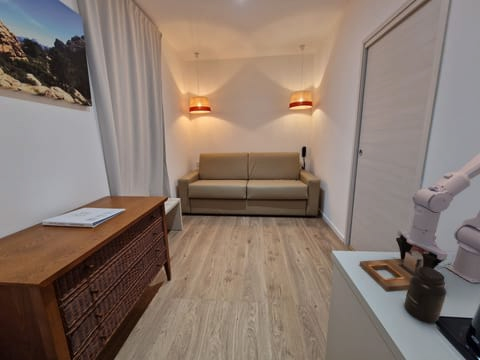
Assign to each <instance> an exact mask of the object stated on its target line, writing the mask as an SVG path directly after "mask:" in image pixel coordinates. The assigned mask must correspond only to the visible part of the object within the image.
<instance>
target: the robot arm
mask: <svg viewBox="0 0 480 360" xmlns="http://www.w3.org/2000/svg"><path fill="white" fill-rule="evenodd" d="M479 175H480V152H479V153H478V154H476V155H475V156H474V157H473V158H472V159H471V160H469V161H468V162H467V163H466V164H465V165H463V167H461V168H460V169H459V170H457V171H450V172H447V173H445V174H443V176H442V177H440V179H438V180H437V181H435V182H434V183H433V184H431V185H430V186H429V187H427V188H426V187H425V188H421V189H418V190H417V191H416V192H415V194H414V195H412V199H411V200H412V202H413V205H414V207H413V209H414V213H413V214H414V215H413V218H412V224H411V228H410V231H408V230H405V229H398V230H397V235H396V236H399V237H396V238H395V241H396V242H397V245H398V249H399V254H400V255H399V256H400V258H401V259H402V260H404V259H405V254H406V252H411V249H412V246H413V245H416V246H419V247H421V248H423V249H425V250H426V251H428V252H429V254H428V253H426V254H422V256H423V267H428V268H432V269H434V270H435V268H436V267H437V266H438V265H440V264H441V263H442V262H443V261H445V260H447V258H448V255H449V254H448V253H447V252H446V251H444V250H443V249H441V247H439V246H438V245H435V244H434V243H433V241H435V240H434V237H435V233H436V232H437V229H438V225H439V220H440V218H441V217H440V216H441V214H442V212H444V211H446V210H447V209H448V208H449V207H450V205H451V202H453V200H454V198H455V197H456V196H458V195H459V194H461V192H463V191H465V190H466V189H468V188H469V187H470V185H471V180H473V179H475V177H477V176H479ZM436 234H437V233H436ZM453 236H454V239H455V240H456V244H457V245H458V246H457V250H456V255H455V257H454V261H453V264H449V265H448V264H447V265H444V267H445V268H446V269H447V270H450V271H451V272H453V273H454V274H456V275H457V276H459V277H460V278H463V279H464V280H466V281H468V282H469V283H471V284H475V283H477V284H478V283H480V210H479V211H478V213H476V216H475V217H474V218H472V217H471V218H469V219H464V220H463V222H462V224H461V225H459V226H458V227H457V228H456V229H455V230H454V234H453Z"/></svg>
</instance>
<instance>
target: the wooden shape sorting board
mask: <svg viewBox="0 0 480 360" xmlns="http://www.w3.org/2000/svg"><path fill="white" fill-rule="evenodd" d="M403 263H404V260H402V259H401V257H400V258H389V259H388V258H387V259H375V260H374V259H373V260H362V261H361V260H360V261H359V267H360V268H361V269H363V270H364V271H365V273H366V274H368V276H370V277H371V278H372V279H373V280H374V281H375V282H376V283H377V284H379V286H380V287H382V288H383V290H385V292H395V291H396V290H397V291H405V290H406V291H408V287H409V283H410V279H411V278H412V277H413V276H412V275H411V274H410V273H408V272H407V271H406V270H404V269H403ZM383 270H385V271H387V272H388V273H390V275H392V276H393V277H391V278H384V276H382V274H380V273H379V272H378V271H383ZM445 284H446V281H445V280H444V284H443V286H444V287H445Z"/></svg>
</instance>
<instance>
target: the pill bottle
mask: <svg viewBox="0 0 480 360" xmlns="http://www.w3.org/2000/svg"><path fill="white" fill-rule="evenodd" d="M437 236H438V235H437V233H435V237H434V241H433V243H434V244H435V245H437V244H438V243H437V242H436V239H437ZM437 246H438V245H437ZM413 251H417V252H419V253H421V254H426V253H428V254H429V252H428V251H426V250H425V249H423V248H421V247H419V246H416V245H413V246H412V249H411V251H410V252H413Z"/></svg>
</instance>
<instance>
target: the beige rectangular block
mask: <svg viewBox="0 0 480 360" xmlns="http://www.w3.org/2000/svg"><path fill="white" fill-rule="evenodd" d="M420 267H423V256H422V254H421V253H419V252H417V251H413V252H411V251H410V252H406V254H405V259H404V263H403V269H404V270H406V271H407V272H408V273H410V274H411V275H412V276H415V275H417V272H418V270H419V268H420Z"/></svg>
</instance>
